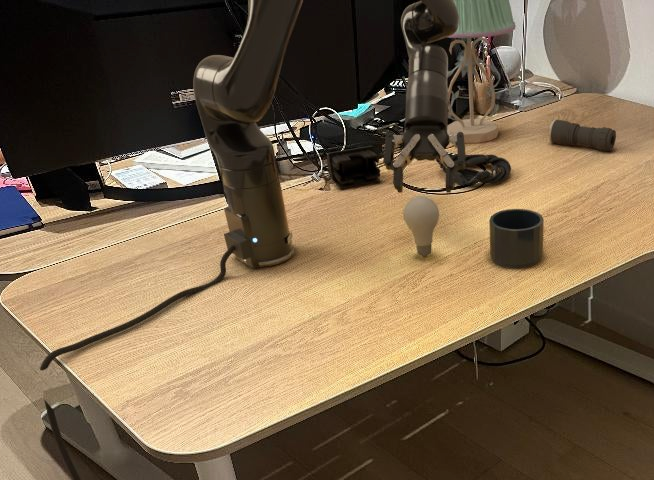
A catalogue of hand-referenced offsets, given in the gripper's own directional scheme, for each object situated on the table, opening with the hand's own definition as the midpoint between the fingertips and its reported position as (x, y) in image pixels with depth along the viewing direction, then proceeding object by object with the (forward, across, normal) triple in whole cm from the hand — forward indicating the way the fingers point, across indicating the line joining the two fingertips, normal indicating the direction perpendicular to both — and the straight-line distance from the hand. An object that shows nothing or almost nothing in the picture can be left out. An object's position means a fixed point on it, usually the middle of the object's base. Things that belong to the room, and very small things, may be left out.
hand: (423, 191), depth 130 cm
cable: (-18, +6, +33) cm, 38 cm away
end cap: (-15, -20, +30) cm, 39 cm away
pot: (+10, +16, +4) cm, 20 cm away
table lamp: (-37, +4, +52) cm, 64 cm away
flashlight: (-31, +30, +46) cm, 63 cm away
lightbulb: (+11, 0, +4) cm, 11 cm away
